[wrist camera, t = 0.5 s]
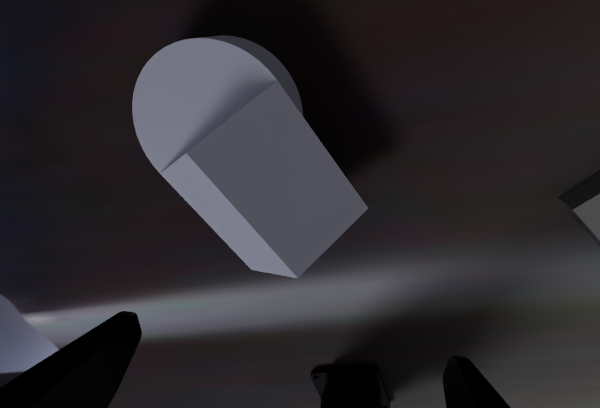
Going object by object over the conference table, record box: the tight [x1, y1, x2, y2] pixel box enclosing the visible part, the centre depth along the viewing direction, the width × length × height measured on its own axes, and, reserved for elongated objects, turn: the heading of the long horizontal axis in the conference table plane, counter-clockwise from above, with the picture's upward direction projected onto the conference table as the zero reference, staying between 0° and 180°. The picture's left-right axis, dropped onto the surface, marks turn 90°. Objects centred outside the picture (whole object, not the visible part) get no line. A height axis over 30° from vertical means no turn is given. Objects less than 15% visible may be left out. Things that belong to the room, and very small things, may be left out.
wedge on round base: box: [132, 35, 368, 278], centre depth 18 cm, size 9×7×13 cm
